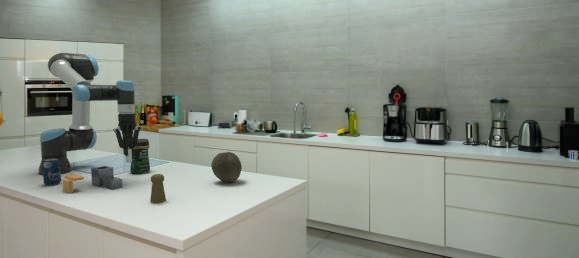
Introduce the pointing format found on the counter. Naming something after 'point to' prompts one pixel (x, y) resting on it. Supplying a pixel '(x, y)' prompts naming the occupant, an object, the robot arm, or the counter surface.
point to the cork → (157, 189)
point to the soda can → (51, 172)
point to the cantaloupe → (226, 166)
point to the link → (105, 178)
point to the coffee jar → (140, 157)
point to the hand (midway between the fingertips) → (129, 162)
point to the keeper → (70, 182)
